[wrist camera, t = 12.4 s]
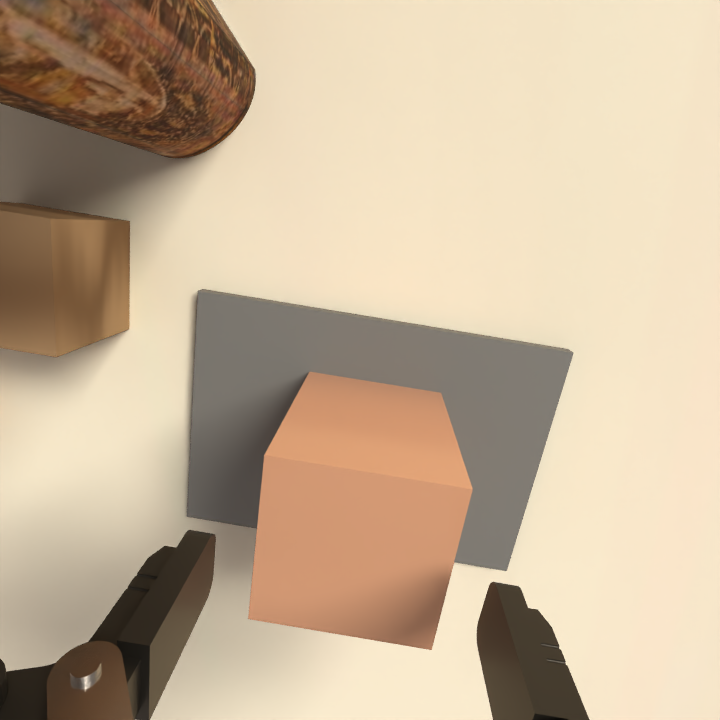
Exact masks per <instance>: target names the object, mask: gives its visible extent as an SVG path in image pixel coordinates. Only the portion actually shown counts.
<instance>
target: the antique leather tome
mask: <svg viewBox="0 0 720 720" xmlns="http://www.w3.org/2000/svg"><path fill="white" fill-rule="evenodd" d="M255 83H256V74H255V69H254V67H253V66H252V64H251V63H250V61H249V59H248V58H247V56H246V55H245V53H244V51H243V50H242V48H241V47H240V45H239V43H238V42H237V40H236V39H235V37H234V35H233V34H232V32H231V31H230V29H229V27H228V26H227V24H226V23H225V21H224V19H223V18H222V16H221V15H220V13H219V11H218V10H217V8H216V7H215V5H214V4H213V2H212V0H0V103H2V104H5V105H8V106H11V107H14V108H17V109H20V110H23V111H26V112H30V113H33V114H36V115H39V116H42V117H45V118H48V119H51V120H54V121H57V122H60V123H64V124H67V125H70V126H73V127H76V128H79V129H82V130H85V131H88V132H91V133H94V134H97V135H101V136H104V137H107V138H110V139H113V140H116V141H119V142H122V143H125V144H128V145H131V146H135V147H138V148H141V149H144V150H147V151H150V152H153V153H156V154H159V155H162V156H166V157H171V158H185V157H191V156H195V155H198V154H200V153H203V152H205V151H207V150H209V149H210V148H212V147H214V146H215V145H217V144H218V143H220V142H221V141H223V140H224V139H225V138H226V137H227V136H228V135H230V134H231V133H232V132H233V130H234V129H235V128H236V127H237V126H238V125H239V123H240V122H241V121H242V119H243V118H244V116H245V115H246V113H247V111H248V109H249V107H250V105H251V102H252V99H253V95H254V91H255Z"/></svg>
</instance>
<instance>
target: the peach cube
mask: <svg viewBox="0 0 720 720" xmlns="http://www.w3.org/2000/svg"><path fill="white" fill-rule="evenodd" d="M472 490H473V488H472V485H471V482H470V479H469V476H468V473H467V470H466V467H465V464H464V461H463V458H462V455H461V452H460V449H459V446H458V443H457V440H456V437H455V434H454V431H453V428H452V424H451V421H450V418H449V415H448V412H447V409H446V406H445V403H444V400H443V397H442V394H441V393H439V392H433V391H427V390H421V389H415V388H408V387H402V386H396V385H390V384H384V383H377V382H371V381H365V380H359V379H353V378H347V377H340V376H334V375H328V374H322V373H316V372H309V373H308V375H307V377H306V379H305V381H304V383H303V385H302V386H301V388H300V390H299V392H298V394H297V396H296V397H295V399H294V401H293V403H292V405H291V407H290V409H289V410H288V412H287V414H286V416H285V418H284V420H283V421H282V423H281V425H280V427H279V429H278V431H277V433H276V434H275V436H274V438H273V440H272V442H271V444H270V445H269V447H268V449H267V451H266V453H265V455H264V463H263V473H262V484H261V494H260V504H259V514H258V524H257V535H256V545H255V555H254V565H253V576H252V586H251V596H250V606H249V616H248V619H252V620H258V621H264V622H270V623H276V624H281V625H287V626H293V627H299V628H305V629H311V630H317V631H323V632H329V633H335V634H341V635H346V636H352V637H358V638H364V639H370V640H376V641H382V642H388V643H394V644H400V645H405V646H411V647H417V648H423V649H429V650H432V646H433V642H434V638H435V634H436V631H437V627H438V623H439V619H440V615H441V611H442V607H443V603H444V599H445V596H446V592H447V588H448V584H449V580H450V576H451V572H452V568H453V564H454V560H455V557H456V553H457V549H458V545H459V541H460V537H461V533H462V529H463V525H464V522H465V518H466V514H467V510H468V506H469V502H470V498H471V494H472Z"/></svg>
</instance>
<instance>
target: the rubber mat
mask: <svg viewBox="0 0 720 720" xmlns="http://www.w3.org/2000/svg"><path fill="white" fill-rule="evenodd" d="M572 356H573V352H572V351H570V350H569V349H564V348H557V347H551V346H545V345H539V344H533V343H527V342H521V341H515V340H509V339H503V338H497V337H491V336H484V335H478V334H472V333H466V332H460V331H454V330H448V329H442V328H436V327H430V326H424V325H418V324H412V323H405V322H399V321H393V320H387V319H381V318H375V317H369V316H363V315H357V314H351V313H345V312H339V311H333V310H326V309H320V308H314V307H308V306H302V305H296V304H290V303H284V302H278V301H272V300H266V299H260V298H253V297H247V296H241V295H235V294H229V293H223V292H217V291H211V290H205V289H202V290H199V291H198V300H197V320H196V341H195V361H194V382H193V402H192V423H191V443H190V464H189V484H188V505H187V517H193V518H199V519H205V520H211V521H216V522H222V523H228V524H234V525H240V526H246V527H252V528H257V524H258V514H259V504H260V494H261V484H262V473H263V463H264V455H265V453H266V451H267V449H268V447H269V445H270V444H271V442H272V440H273V438H274V436H275V434H276V433H277V431H278V429H279V427H280V425H281V423H282V421H283V420H284V418H285V416H286V414H287V412H288V410H289V409H290V407H291V405H292V403H293V401H294V399H295V397H296V396H297V394H298V392H299V390H300V388H301V386H302V385H303V383H304V381H305V379H306V377H307V375H308V373H309V372H316V373H322V374H328V375H334V376H340V377H347V378H353V379H359V380H365V381H371V382H377V383H384V384H390V385H396V386H402V387H408V388H415V389H421V390H427V391H433V392H439V393H441V394H442V397H443V400H444V403H445V406H446V409H447V412H448V415H449V418H450V421H451V424H452V428H453V431H454V434H455V437H456V440H457V443H458V446H459V449H460V452H461V455H462V458H463V461H464V464H465V467H466V470H467V473H468V476H469V479H470V482H471V485H472V488H473V490H472V494H471V498H470V502H469V506H468V510H467V514H466V518H465V522H464V525H463V529H462V533H461V537H460V541H459V545H458V549H457V553H456V557H455V560H454V562H457V563H462V564H468V565H474V566H480V567H486V568H492V569H498V570H503V571H507V568H508V565H509V561H510V558H511V555H512V552H513V548H514V545H515V542H516V539H517V535H518V532H519V529H520V526H521V522H522V519H523V516H524V513H525V509H526V506H527V503H528V499H529V496H530V493H531V490H532V486H533V483H534V480H535V477H536V473H537V470H538V467H539V464H540V460H541V457H542V454H543V451H544V447H545V444H546V441H547V438H548V434H549V431H550V428H551V425H552V421H553V418H554V415H555V411H556V408H557V405H558V402H559V398H560V395H561V392H562V389H563V385H564V382H565V379H566V376H567V372H568V369H569V366H570V363H571V359H572Z"/></svg>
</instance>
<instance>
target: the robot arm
mask: <svg viewBox="0 0 720 720" xmlns="http://www.w3.org/2000/svg"><path fill="white" fill-rule="evenodd" d="M215 542H216V537H215V534H210V533H204V532H198V531H192V530H189V531H187V532H186V534H185V535H184V537H183V538H182V540H181V541H180V543H179V545H178V546H177V548H174V547H169V546H164V547H163V548H161V549H160V550H159V551H157V552H156V553H154V554H153V555H152V556H150V557H149V558H148V559H147V560H146V562H145V563H144V565H143V566H142V567H141V569H140V570H139V572H138V573H137V576H135V577H134V579H133V580H132V582H131V583H130V584H129V586H128V589H126V590H125V591H124V593H123V594H122V596H121V597H120V598H119V600H118V601H117V603H116V604H115V606H114V607H113V608H112V610H111V611H110V613H109V614H108V615H107V617H106V618H105V620H104V621H103V622H102V624H101V625H100V627H99V628H98V630H97V631H96V632H95V634H94V635H93V637H92V638H91V639H90V640H89V642H88V643H85V644H82V645H80V646H77V647H75V648H74V649H72V650H70V651H69V652H67V653H66V654H65V655H63V656H62V657H61V658H60V659H59V660H58V661H57V662H56V663H54V664H51V665H47V666H42V667H36V668H29V669H22V670H15V671H8V672H6V668H5V664H4V663H3V661H2V660H1V659H0V720H135V719H136V720H150V718H151V716H152V714H153V712H154V710H155V708H156V706H157V704H158V701H159V699H160V697H161V695H162V693H163V691H164V689H165V687H166V685H167V682H168V680H169V678H170V676H171V674H172V672H173V670H174V668H175V666H176V664H177V661H178V659H179V657H180V655H181V653H182V651H183V649H184V647H185V645H186V643H187V640H188V638H189V636H190V634H191V632H192V630H193V628H194V626H195V624H196V622H197V619H198V617H199V615H200V613H201V611H202V609H203V607H204V605H205V603H206V600H207V598H208V595H209V592H210V589H211V585H212V581H213V572H214V557H215ZM477 646H478V651H479V656H480V661H481V665H482V670H483V675H484V679H485V684H486V689H487V693H488V698H489V703H490V707H491V712H492V717H493V720H589V718H588V715H587V713H586V710H585V708H584V705H583V703H582V701H581V698H580V696H579V693H578V691H577V688H576V686H575V683H574V681H573V678H572V676H571V673H570V671H569V669H568V666H567V665H566V664H565V662H566V661H565V659H564V656H563V654H562V651H561V650H560V649H559V644H558V642H557V639H556V637H555V634H554V632H553V629H552V627H551V626H550V624H549V623H548V622H547V621H546V620H545V618H544V617H543V616H542V615H541V613H540V612H539V611H538V610H536V609H530V608H528V607H527V604H526V601H525V599H524V596H523V593H522V591H521V589H520V587H518V586H514V585H508V584H502V583H496V582H492V583H491V584H490V585H489V588H488V591H487V595H486V598H485V601H484V604H483V608H482V611H481V614H480V618H479V621H478V626H477Z"/></svg>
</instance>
